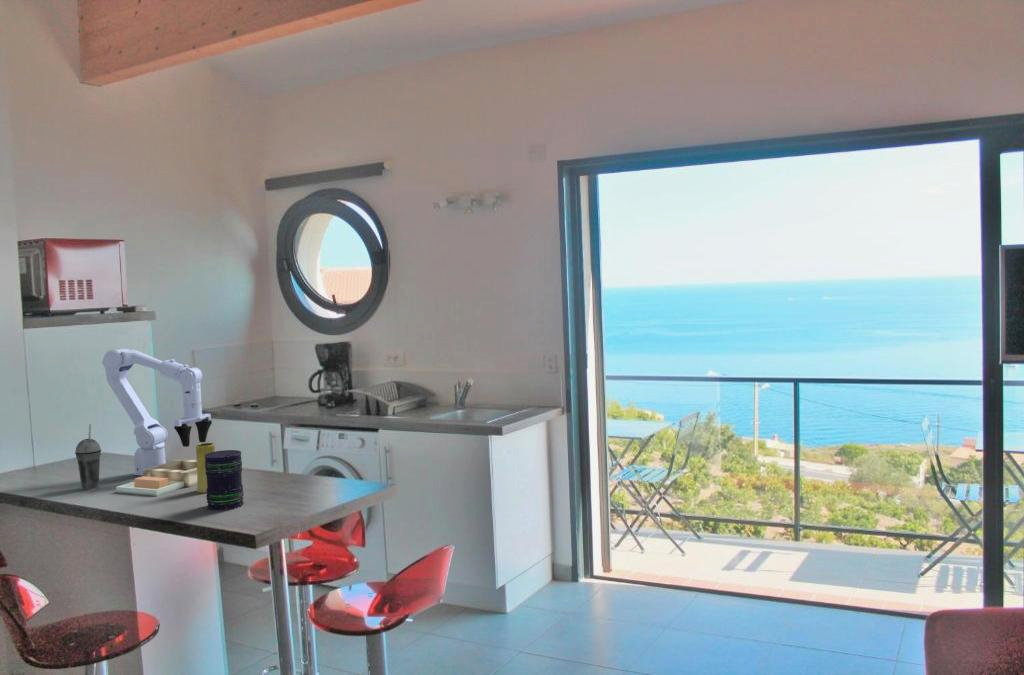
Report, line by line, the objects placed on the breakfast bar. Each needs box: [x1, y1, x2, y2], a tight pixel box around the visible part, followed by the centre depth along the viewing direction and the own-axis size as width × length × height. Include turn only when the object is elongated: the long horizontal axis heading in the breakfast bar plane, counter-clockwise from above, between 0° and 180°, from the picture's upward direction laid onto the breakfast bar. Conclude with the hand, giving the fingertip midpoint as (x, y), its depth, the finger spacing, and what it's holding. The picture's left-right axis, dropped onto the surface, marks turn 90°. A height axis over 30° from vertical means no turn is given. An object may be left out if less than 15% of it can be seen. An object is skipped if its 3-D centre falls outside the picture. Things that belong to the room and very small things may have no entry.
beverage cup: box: [74, 424, 102, 491], centre depth 249 cm, size 7×7×20 cm
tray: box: [115, 480, 185, 497], centre depth 245 cm, size 16×11×2 cm
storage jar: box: [205, 449, 245, 512], centre depth 223 cm, size 10×10×15 cm
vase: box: [195, 442, 216, 494], centre depth 242 cm, size 6×6×14 cm
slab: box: [133, 476, 168, 489], centre depth 245 cm, size 10×4×3 cm, turn 69°
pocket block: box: [143, 458, 197, 488], centre depth 258 cm, size 18×16×4 cm
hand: (194, 444), depth 266 cm, fingers open, 7 cm apart
